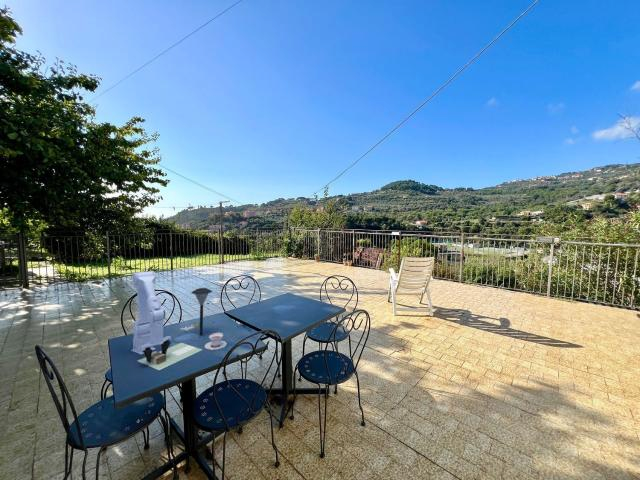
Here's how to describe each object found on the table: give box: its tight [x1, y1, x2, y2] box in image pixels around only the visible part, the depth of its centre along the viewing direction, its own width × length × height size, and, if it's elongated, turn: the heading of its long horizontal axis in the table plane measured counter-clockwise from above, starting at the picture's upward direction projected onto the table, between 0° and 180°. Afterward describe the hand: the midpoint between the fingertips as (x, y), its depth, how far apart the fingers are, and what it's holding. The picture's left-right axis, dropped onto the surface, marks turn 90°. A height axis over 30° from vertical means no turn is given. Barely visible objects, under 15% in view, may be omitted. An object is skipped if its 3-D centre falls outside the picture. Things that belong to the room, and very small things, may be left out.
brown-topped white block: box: [151, 350, 166, 365], centre depth 136 cm, size 9×4×3 cm, turn 64°
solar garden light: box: [191, 287, 213, 337], centre depth 169 cm, size 12×12×30 cm
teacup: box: [204, 332, 227, 351], centre depth 156 cm, size 12×12×6 cm
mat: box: [137, 342, 203, 371], centre depth 142 cm, size 18×25×1 cm
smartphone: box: [179, 322, 200, 332], centre depth 182 cm, size 7×1×15 cm
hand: (156, 358), depth 136 cm, fingers open, 7 cm apart
